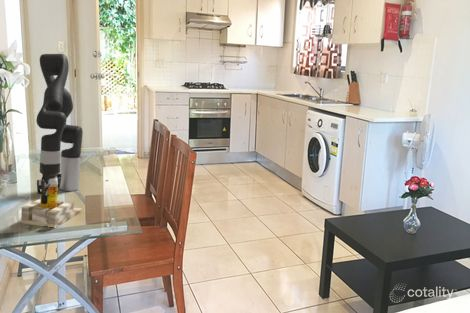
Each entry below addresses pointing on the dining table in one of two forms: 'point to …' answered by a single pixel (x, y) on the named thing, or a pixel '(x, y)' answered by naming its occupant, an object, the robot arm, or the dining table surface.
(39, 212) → the jig
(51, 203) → the yellow and white bottle
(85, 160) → the dining table surface
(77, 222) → the dining table surface
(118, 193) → the dining table surface
